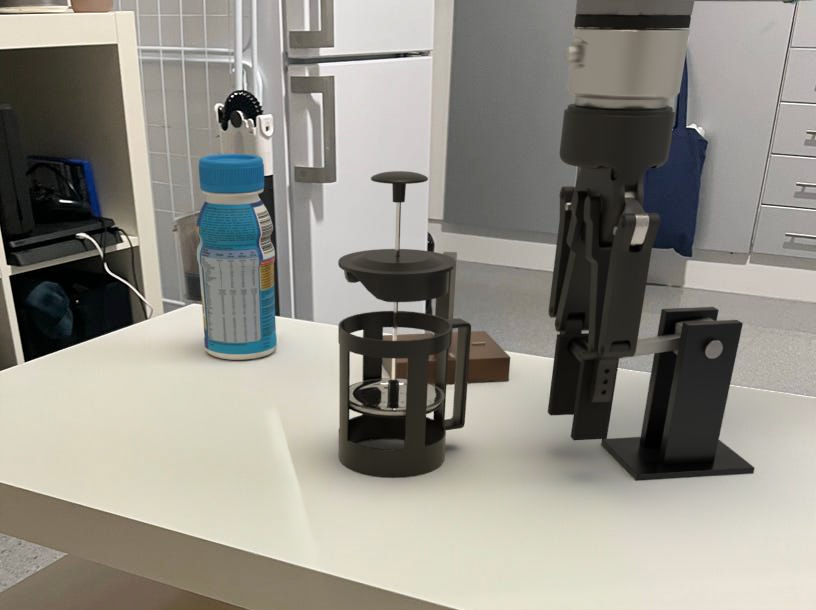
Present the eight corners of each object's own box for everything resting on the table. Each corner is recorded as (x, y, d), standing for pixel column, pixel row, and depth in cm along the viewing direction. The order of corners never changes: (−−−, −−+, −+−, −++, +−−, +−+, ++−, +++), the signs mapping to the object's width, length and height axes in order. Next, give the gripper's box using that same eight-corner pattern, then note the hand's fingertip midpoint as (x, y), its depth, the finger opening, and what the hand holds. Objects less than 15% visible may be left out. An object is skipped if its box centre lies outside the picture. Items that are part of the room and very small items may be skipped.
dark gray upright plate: (439, 338, 110) (443, 249, 105) (452, 339, 110) (457, 249, 105) (433, 351, 106) (437, 259, 101) (446, 352, 106) (451, 259, 101)
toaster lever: (588, 381, 78) (589, 350, 76) (566, 362, 82) (567, 332, 81) (727, 360, 78) (730, 329, 77) (698, 342, 83) (701, 312, 81)
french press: (354, 498, 81) (356, 185, 69) (312, 457, 88) (308, 168, 76) (484, 476, 84) (508, 176, 72) (434, 438, 92) (448, 160, 80)
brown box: (483, 353, 114) (485, 329, 113) (508, 380, 106) (510, 355, 104) (378, 357, 113) (379, 333, 111) (395, 386, 104) (396, 360, 103)
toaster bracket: (634, 492, 82) (661, 332, 75) (599, 455, 88) (620, 305, 82) (751, 484, 83) (788, 326, 76) (707, 448, 90) (737, 300, 83)
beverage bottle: (221, 366, 110) (208, 164, 100) (192, 346, 117) (177, 155, 106) (290, 354, 114) (285, 159, 103) (258, 336, 120) (250, 150, 109)
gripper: (528, 92, 77) (500, 391, 89) (617, 114, 62) (568, 470, 74) (622, 92, 78) (582, 388, 90) (733, 113, 63) (666, 465, 75)
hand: (576, 424), depth 82 cm, fingers closed on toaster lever, 5 cm apart
